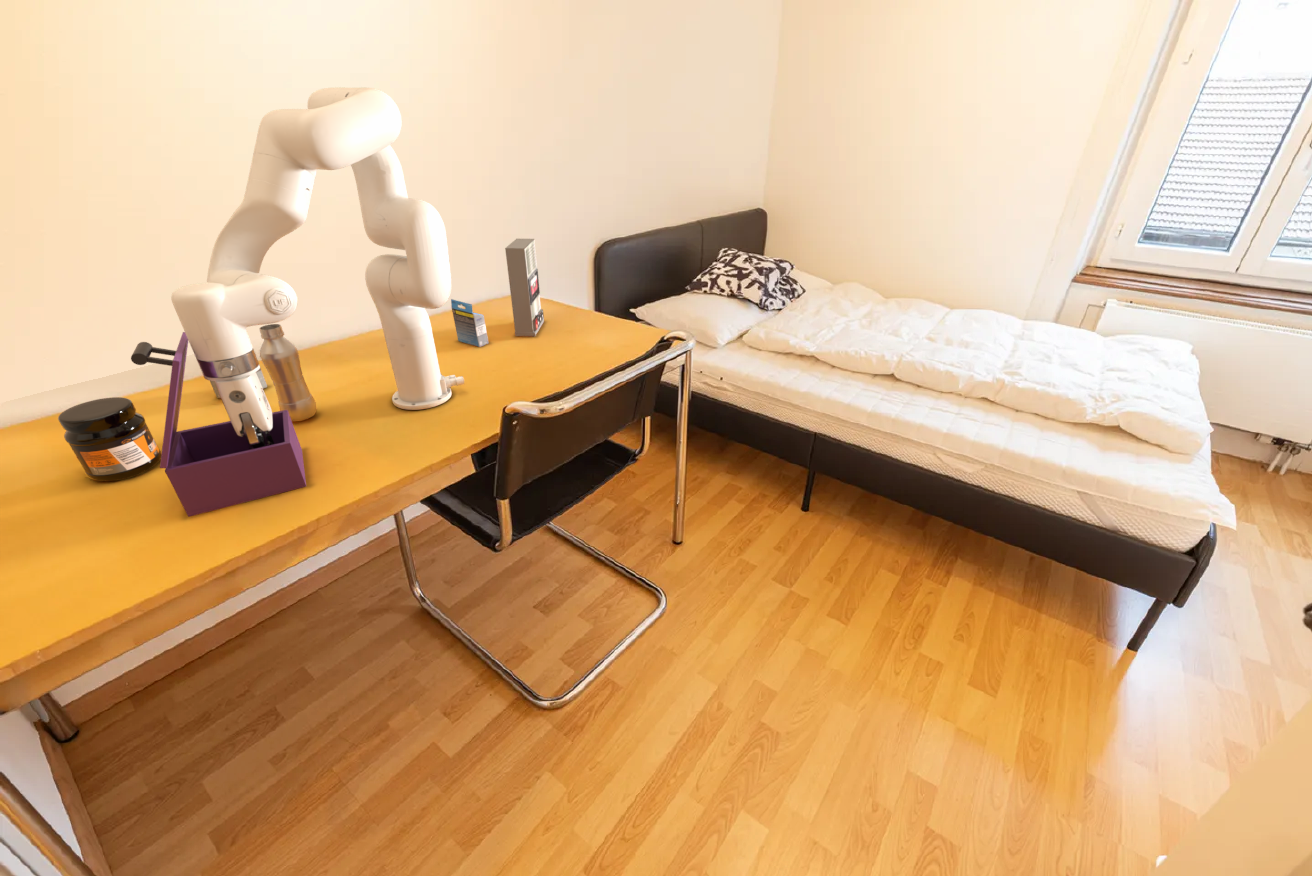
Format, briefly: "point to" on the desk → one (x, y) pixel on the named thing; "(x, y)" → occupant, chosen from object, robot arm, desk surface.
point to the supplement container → (110, 439)
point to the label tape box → (469, 324)
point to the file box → (233, 465)
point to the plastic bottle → (286, 373)
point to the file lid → (175, 390)
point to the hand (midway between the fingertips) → (267, 460)
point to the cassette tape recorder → (524, 287)
